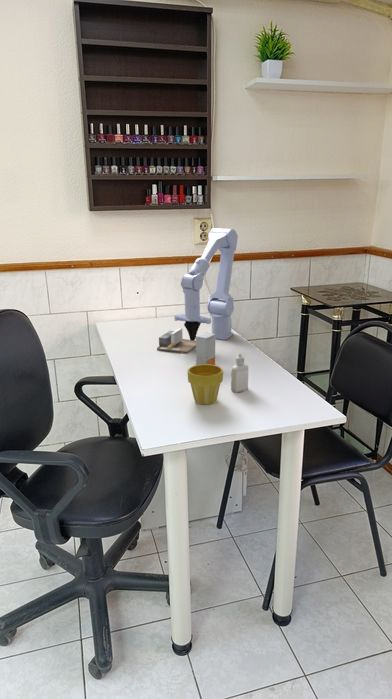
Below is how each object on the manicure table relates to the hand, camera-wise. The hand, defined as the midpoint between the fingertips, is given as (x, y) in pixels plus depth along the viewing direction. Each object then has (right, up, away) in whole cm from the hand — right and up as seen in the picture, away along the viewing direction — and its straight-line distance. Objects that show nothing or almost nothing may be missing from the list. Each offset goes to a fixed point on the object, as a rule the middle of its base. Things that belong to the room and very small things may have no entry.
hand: (192, 339), depth 192 cm
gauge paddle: (-7, -2, +2) cm, 7 cm away
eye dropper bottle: (+15, -17, -38) cm, 44 cm away
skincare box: (+5, -10, -19) cm, 22 cm away
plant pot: (+4, -19, -45) cm, 49 cm away
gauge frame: (-5, -3, +3) cm, 6 cm away
